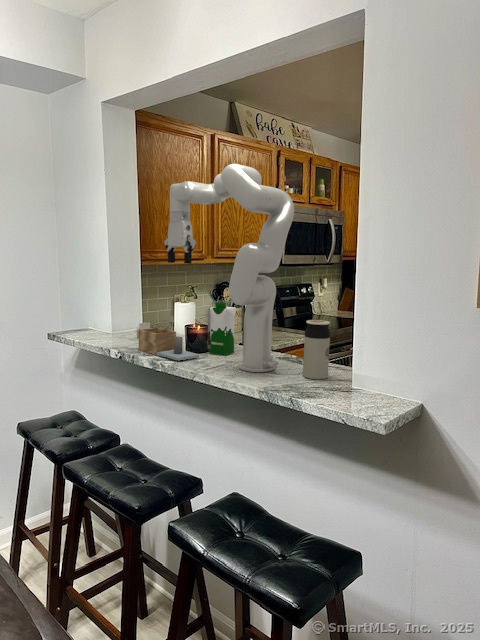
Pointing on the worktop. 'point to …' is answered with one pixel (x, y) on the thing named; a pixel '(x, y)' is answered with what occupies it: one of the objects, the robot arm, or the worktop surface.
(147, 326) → the architectural model
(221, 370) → the worktop surface
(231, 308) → the milk carton
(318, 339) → the travel mug
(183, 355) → the lid
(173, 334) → the box
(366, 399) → the worktop surface
